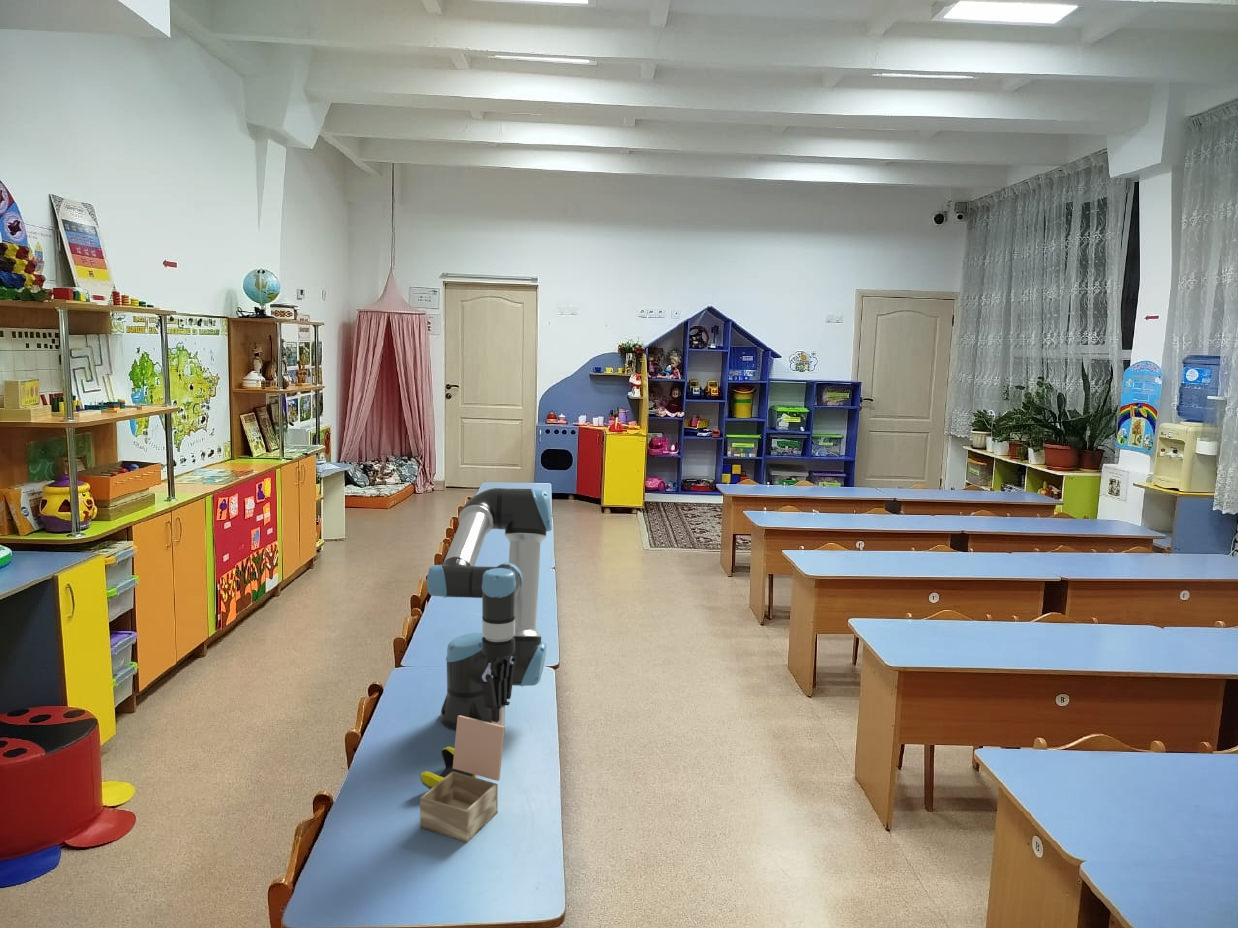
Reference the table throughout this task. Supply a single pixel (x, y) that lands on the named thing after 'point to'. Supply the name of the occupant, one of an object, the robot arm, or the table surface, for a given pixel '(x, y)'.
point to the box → (459, 806)
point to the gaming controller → (432, 779)
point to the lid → (478, 747)
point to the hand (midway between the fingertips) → (498, 732)
